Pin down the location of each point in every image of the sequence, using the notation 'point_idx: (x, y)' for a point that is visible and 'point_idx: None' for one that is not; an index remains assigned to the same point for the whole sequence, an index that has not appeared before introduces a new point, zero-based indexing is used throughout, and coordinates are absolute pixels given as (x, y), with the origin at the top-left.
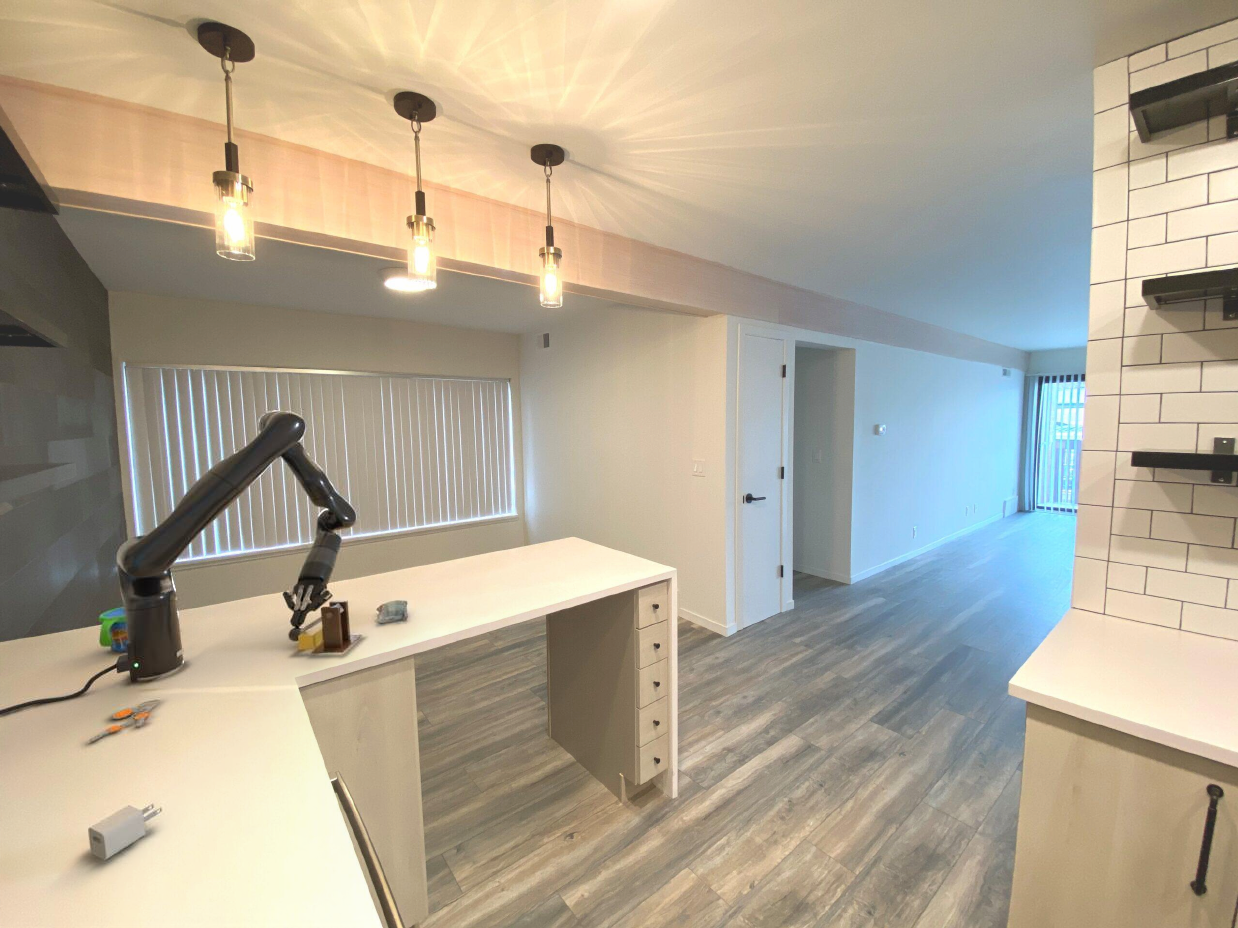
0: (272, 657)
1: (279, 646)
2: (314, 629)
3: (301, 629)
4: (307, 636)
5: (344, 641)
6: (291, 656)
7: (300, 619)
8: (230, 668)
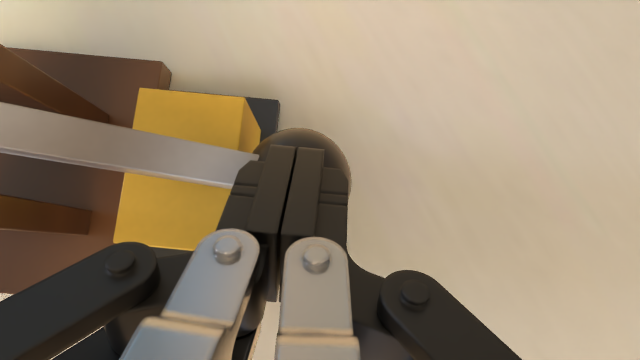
0: (394, 103)
1: (436, 251)
2: (168, 205)
3: (241, 152)
4: (176, 92)
5: (7, 186)
6: (290, 98)
7: (249, 179)
8: (548, 9)
